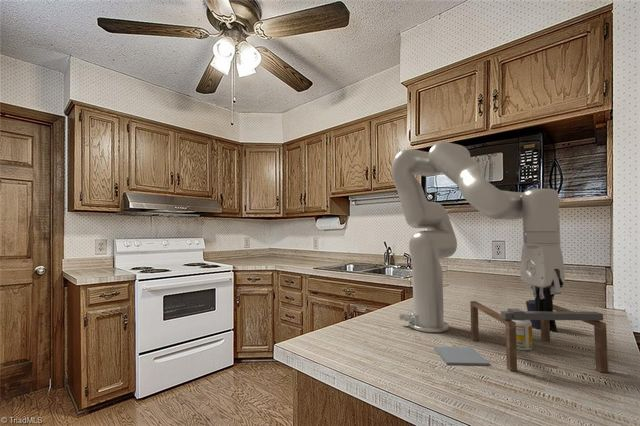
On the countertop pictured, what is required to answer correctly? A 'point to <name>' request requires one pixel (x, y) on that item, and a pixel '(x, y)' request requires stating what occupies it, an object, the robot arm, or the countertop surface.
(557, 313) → the tie bar
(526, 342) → the supplement bottle
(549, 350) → the countertop surface
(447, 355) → the slate mat
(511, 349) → the frame
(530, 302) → the speaker
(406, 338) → the countertop surface
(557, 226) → the robot arm
